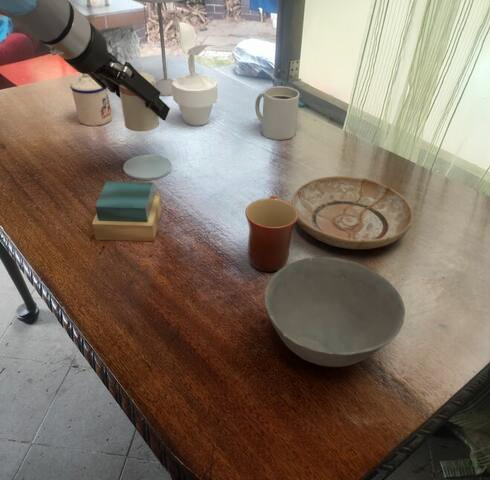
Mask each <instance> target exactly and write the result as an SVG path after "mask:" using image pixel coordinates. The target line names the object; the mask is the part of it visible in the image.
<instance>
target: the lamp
mask: <svg viewBox="0 0 490 480" xmlns="http://www.w3.org/2000/svg"><path fill="white" fill-rule="evenodd" d="M133 1H135V2H138V3H139V2H140V3H143V5H145V3H147V4H156V5H157V6H156V8H157V18H158V19H157V20H158V29H159V30H158V31H159V39H160V41H159V42H160V50H161V62H162V73H163V78H160V79H158V80H157V81H155V87H156V89H157V90H159V91H160V92H161V94H160V96H161V97H164V96H165V97H169V96H173V89H172V83H173V80H174V79H171V78H168V68H167V57H166V46H165V45H166V44H165V36H164V35H165V34H164V23H163V12H162V4H170V3H172V8H173V11H175V3H178V2H182V1H184V0H133ZM143 10H144V11H143V12H144V13H146V8H145V6H143ZM146 16H147V15H144V21H147V17H146ZM174 21H175V14H173V22H174ZM147 26H148V25H147V23H145V29H146V30H148V27H147ZM173 35H174V36H173V37H174V38H177V36H178V33H177V30H174V34H173ZM145 37H147V38H149V34H148V32H146V34H145Z"/></svg>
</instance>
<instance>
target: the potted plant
mask: <svg viewBox="0 0 490 480" xmlns="http://www.w3.org/2000/svg"><path fill="white" fill-rule="evenodd" d="M174 15H175V21H174V20H173V21H172V24H173V25H174V28H175V31H178V29H179V39H178V37H176V40H175V43H176V44H177V45H180V49H181V51H182V52H183V53H184V54H185V55H188V59H187V62H188V71H189V74H188V75H181V76H179V77H176V78H174V79H172V80H173V83H172V89H173V95H172V101H174V102H175V103H176V104H177V106H178V109H179V111H180V114H181V116H182V118H183V121H184V122H185V123H186V124H187V125H190V126H194V127H195V126H196V127H199V126H203V125H205V124H208V123H209V120H210V117H211V113H212V109H213V106H214V104H216V103H217V101H218V81H217V80H216V79H215V78H214V77H211V76H207V75H203V74H201V73H196V66H195V56H199V55H200V54H201V53H202V52H203V51H204V50H205V49H206V48H207V47H214V46H215V45H216V44H214V43H206V44H198V45H196V43H197V33H196V29H195V28H194V27H193V26H192V25H191V24H189V23H188V22H181V21H178V19H177V14H176V13H174ZM167 34H168V35H167V36H166V38H168V40H169V42H170V41H171V38H172V36H171V35H170V33H167Z"/></svg>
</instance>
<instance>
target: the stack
mask: <svg viewBox="0 0 490 480" xmlns="http://www.w3.org/2000/svg"><path fill="white" fill-rule="evenodd" d="M94 208H95V212H96V213H95V215H94V218H93V220H92V223H91V227H92V230H93V234H94V238H95V240H97V241H127V242H128V241H129V242H130V241H131V242H155V241H156V237H157V232H158V229H159V225H160V220H161V215H162V213H163V205H162V196H161V193H155V189H154V182H146V181H145V182H144V181H143V182H139V181H114V180H113V181H111V180H106V181H105V183H104V185H103V188H102V190H101V192H100V194H99V197H98V199H97V201H96V204H95V206H94Z"/></svg>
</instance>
